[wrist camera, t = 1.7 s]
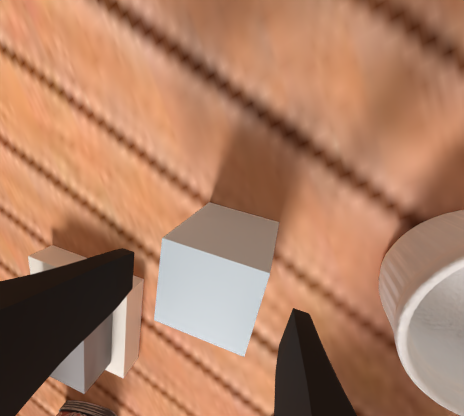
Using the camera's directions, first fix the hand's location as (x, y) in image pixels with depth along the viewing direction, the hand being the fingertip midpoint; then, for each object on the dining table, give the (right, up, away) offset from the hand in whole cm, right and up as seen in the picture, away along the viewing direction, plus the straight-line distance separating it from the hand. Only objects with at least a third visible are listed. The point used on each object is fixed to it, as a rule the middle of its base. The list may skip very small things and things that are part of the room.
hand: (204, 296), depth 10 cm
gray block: (+1, +2, +5) cm, 5 cm away
